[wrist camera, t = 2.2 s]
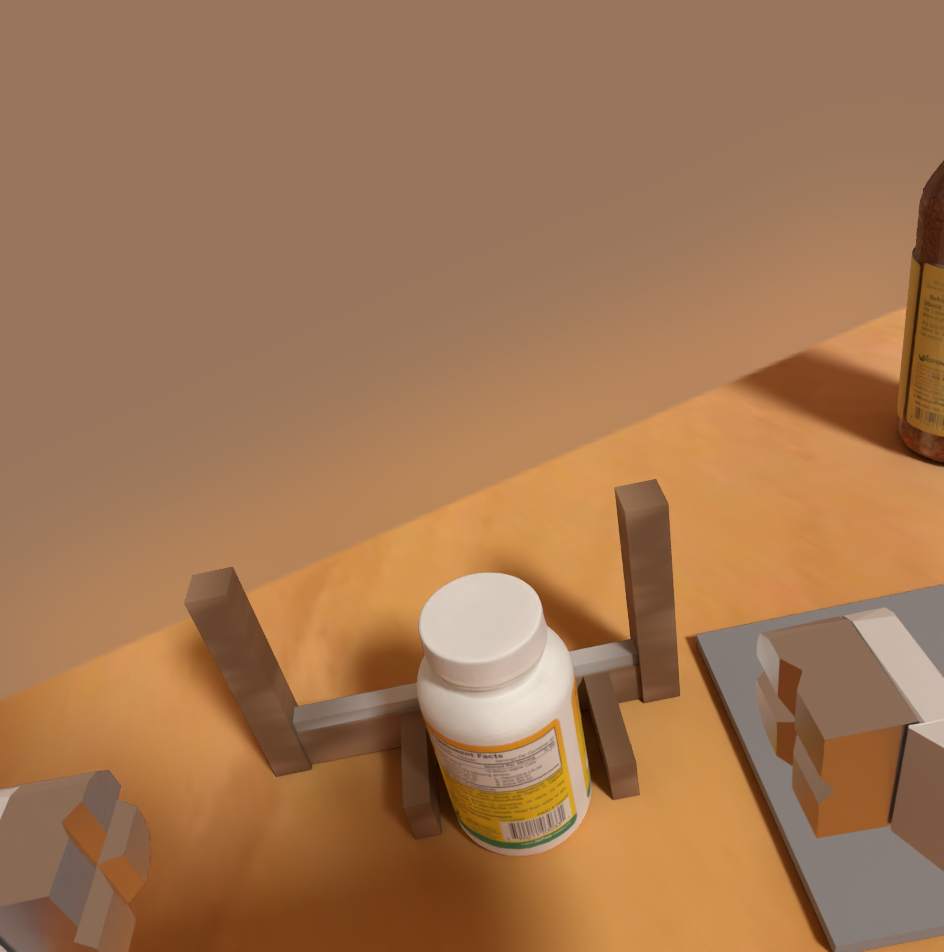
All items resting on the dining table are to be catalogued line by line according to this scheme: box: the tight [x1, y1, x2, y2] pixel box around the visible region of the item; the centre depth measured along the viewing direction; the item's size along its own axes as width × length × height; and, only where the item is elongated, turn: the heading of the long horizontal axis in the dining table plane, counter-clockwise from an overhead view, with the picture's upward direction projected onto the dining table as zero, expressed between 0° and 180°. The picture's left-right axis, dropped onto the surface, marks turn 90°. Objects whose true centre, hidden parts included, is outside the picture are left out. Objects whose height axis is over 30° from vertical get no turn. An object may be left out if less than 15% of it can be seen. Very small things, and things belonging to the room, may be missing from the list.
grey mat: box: [696, 585, 944, 952], centre depth 30 cm, size 13×13×1 cm
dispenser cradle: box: [184, 479, 680, 839], centre depth 30 cm, size 17×6×10 cm, turn 96°
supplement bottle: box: [417, 572, 591, 856], centre depth 28 cm, size 5×5×10 cm
